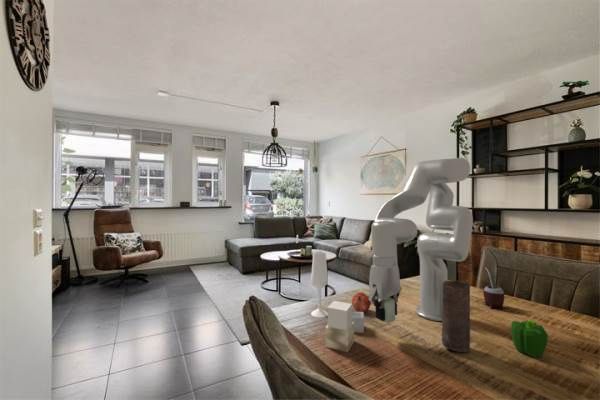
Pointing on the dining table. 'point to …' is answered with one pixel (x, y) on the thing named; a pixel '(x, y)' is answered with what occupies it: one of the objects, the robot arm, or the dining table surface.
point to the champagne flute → (319, 279)
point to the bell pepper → (529, 337)
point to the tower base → (339, 338)
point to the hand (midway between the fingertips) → (386, 315)
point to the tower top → (339, 315)
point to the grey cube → (358, 321)
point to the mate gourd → (493, 295)
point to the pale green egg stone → (389, 309)
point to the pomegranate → (361, 302)
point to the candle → (456, 315)
